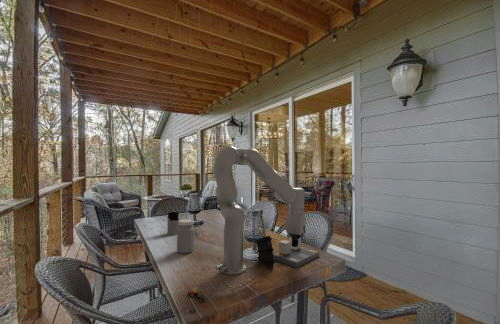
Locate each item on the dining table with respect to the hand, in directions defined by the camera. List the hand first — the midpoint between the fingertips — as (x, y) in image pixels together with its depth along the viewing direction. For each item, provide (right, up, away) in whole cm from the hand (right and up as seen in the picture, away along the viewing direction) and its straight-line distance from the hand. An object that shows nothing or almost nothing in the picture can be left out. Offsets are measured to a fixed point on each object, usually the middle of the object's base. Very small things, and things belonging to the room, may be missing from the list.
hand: (294, 246), depth 131 cm
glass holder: (-77, -8, +52) cm, 94 cm away
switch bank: (+2, -8, +6) cm, 11 cm away
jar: (-61, -8, +15) cm, 63 cm away
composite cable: (-44, -8, -35) cm, 57 cm away
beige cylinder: (+2, -6, +13) cm, 14 cm away
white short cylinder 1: (-4, -5, +6) cm, 9 cm away
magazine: (-16, -9, -2) cm, 18 cm away
